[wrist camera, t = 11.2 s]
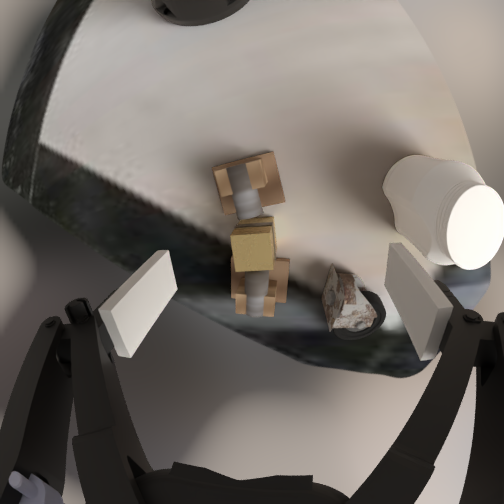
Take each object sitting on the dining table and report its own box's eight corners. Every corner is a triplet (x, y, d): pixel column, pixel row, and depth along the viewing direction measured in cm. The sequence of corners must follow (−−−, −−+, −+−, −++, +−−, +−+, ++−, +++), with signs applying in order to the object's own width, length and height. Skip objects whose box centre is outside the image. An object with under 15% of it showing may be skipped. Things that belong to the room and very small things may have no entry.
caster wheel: (366, 318, 43) (310, 318, 43) (390, 265, 37) (328, 262, 36) (377, 349, 38) (317, 352, 37) (408, 296, 31) (340, 296, 31)
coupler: (240, 218, 37) (229, 234, 31) (274, 215, 36) (270, 231, 30) (244, 250, 39) (234, 272, 32) (277, 248, 38) (274, 270, 32)
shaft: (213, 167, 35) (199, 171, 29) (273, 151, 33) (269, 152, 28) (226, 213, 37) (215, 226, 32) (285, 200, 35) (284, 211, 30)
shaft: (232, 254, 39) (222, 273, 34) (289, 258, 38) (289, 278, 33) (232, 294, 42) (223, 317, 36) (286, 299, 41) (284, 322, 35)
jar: (452, 221, 33) (513, 261, 19) (400, 245, 35) (448, 299, 22) (431, 146, 30) (499, 153, 16) (374, 169, 32) (425, 187, 18)
